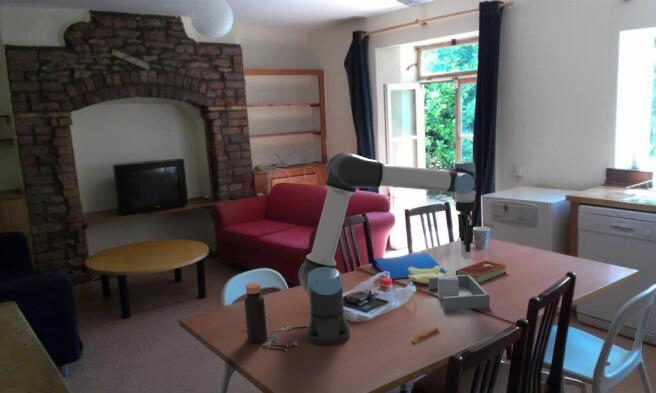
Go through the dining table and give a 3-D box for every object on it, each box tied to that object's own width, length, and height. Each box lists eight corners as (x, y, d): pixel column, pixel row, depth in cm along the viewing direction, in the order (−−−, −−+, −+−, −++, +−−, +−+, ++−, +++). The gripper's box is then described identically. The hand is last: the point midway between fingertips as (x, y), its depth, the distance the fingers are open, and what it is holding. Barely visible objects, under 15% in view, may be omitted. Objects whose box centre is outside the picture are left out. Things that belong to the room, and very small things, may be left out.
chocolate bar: (440, 333, 172) (440, 327, 171) (416, 345, 165) (416, 338, 164) (434, 331, 174) (434, 325, 173) (410, 342, 167) (410, 336, 166)
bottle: (258, 333, 179) (253, 280, 176) (271, 338, 175) (266, 284, 172) (243, 340, 174) (238, 286, 171) (257, 345, 170) (252, 290, 167)
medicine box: (457, 295, 204) (456, 275, 202) (459, 300, 199) (458, 279, 198) (437, 296, 205) (437, 276, 203) (439, 300, 200) (438, 279, 199)
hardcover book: (455, 278, 226) (455, 269, 225) (484, 267, 238) (484, 259, 237) (477, 284, 216) (477, 275, 216) (506, 273, 228) (506, 264, 227)
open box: (489, 307, 190) (489, 295, 190) (444, 310, 190) (443, 298, 189) (469, 285, 214) (469, 274, 214) (429, 288, 214) (428, 277, 213)
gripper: (481, 203, 188) (481, 263, 192) (468, 196, 203) (469, 251, 207) (461, 204, 188) (462, 264, 192) (450, 197, 203) (451, 253, 207)
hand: (465, 257), depth 199 cm, fingers open, 3 cm apart
